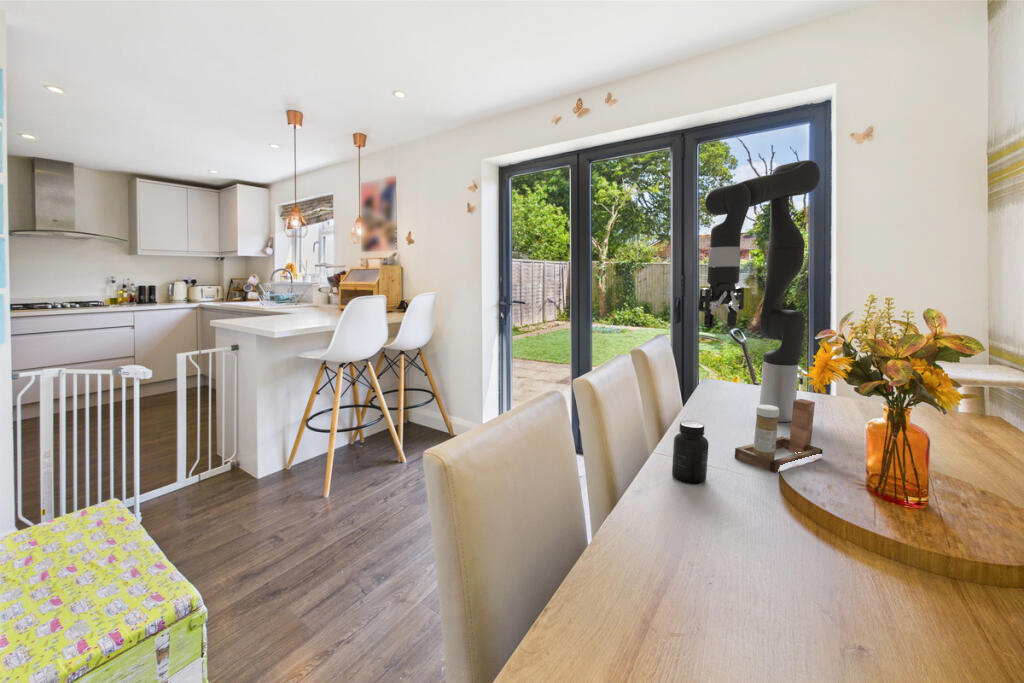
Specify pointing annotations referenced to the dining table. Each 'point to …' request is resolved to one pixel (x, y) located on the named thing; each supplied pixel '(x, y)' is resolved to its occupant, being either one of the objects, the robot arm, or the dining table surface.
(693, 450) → the supplement bottle
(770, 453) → the sprinkles bottle
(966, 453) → the dining table surface
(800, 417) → the wooden frame tray
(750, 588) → the dining table surface
